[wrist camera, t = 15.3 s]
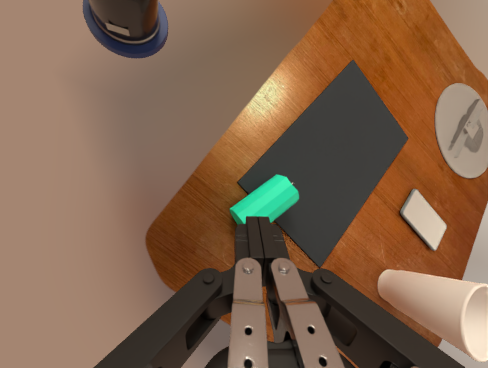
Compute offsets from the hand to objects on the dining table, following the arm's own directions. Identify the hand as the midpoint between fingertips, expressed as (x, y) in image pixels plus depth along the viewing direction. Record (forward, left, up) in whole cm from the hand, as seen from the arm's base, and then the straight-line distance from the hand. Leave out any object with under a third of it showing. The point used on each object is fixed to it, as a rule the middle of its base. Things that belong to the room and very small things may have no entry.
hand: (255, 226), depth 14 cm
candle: (+6, +2, -20) cm, 21 cm away
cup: (+43, +17, -23) cm, 52 cm away
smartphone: (+42, +36, -23) cm, 60 cm away
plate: (+40, +69, -23) cm, 83 cm away
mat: (+13, +28, -23) cm, 38 cm away
